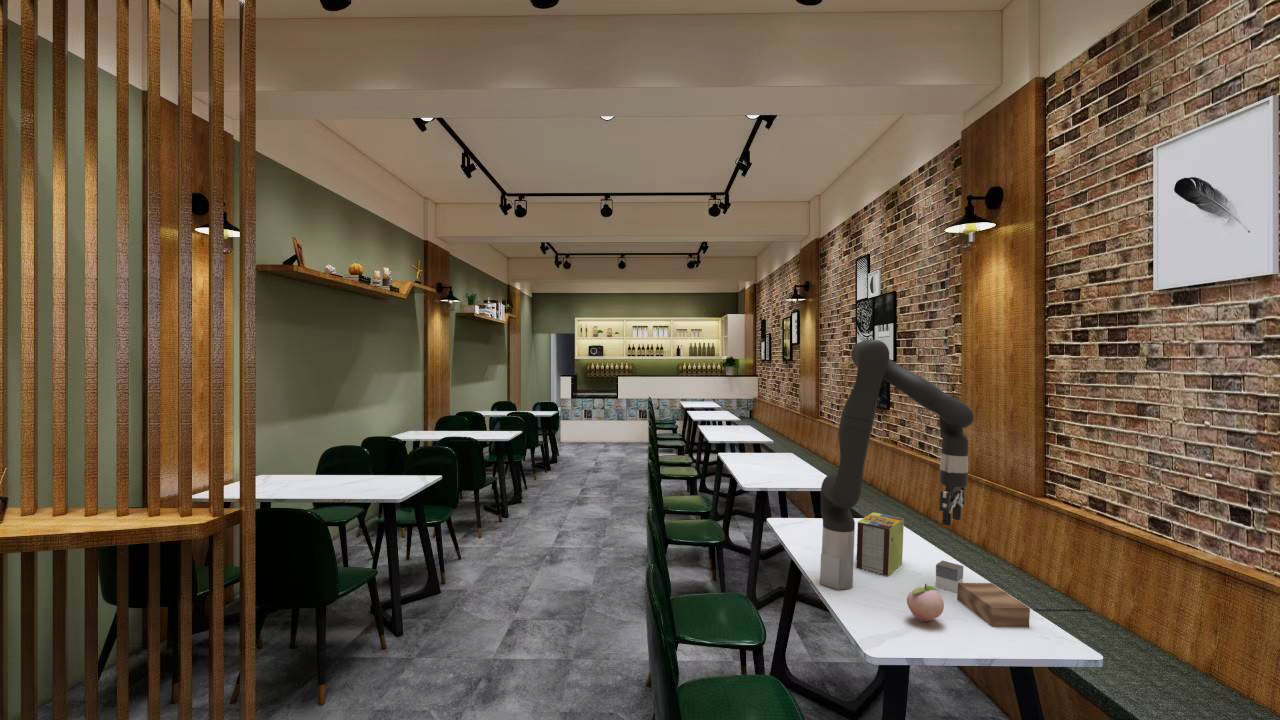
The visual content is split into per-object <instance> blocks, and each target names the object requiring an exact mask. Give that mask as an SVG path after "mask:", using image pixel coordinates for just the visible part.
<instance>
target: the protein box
mask: <svg viewBox="0 0 1280 720" xmlns="http://www.w3.org/2000/svg"><path fill="white" fill-rule="evenodd" d="M904 523H905V521H904V518H903V517H899V516H894V515H887V514H883V513H879V512H871V513H870V514H868V515H866V516H864V517H863V518H861V519H860V520H859V521H857V535H856V536H857V537H856V539H857V540H856V563H855V564H856V565H855V567H856V569H858V568H859V570H862V569H864V570H863V571H866V570H868V571H867V572H870V571H871V573H874V572H875V573H874V574H878V573H879V574H878V575H882V574H883V575H882V576H885V575H886V576H885V577H889V576H890V575H891V574H893V572H895V570H897V569H898V568H899V567H900V566H901V565H902V564H903V550H904V549H903V548H904V525H905V524H904ZM897 567H898V568H897ZM896 568H897V569H896Z"/></svg>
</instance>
